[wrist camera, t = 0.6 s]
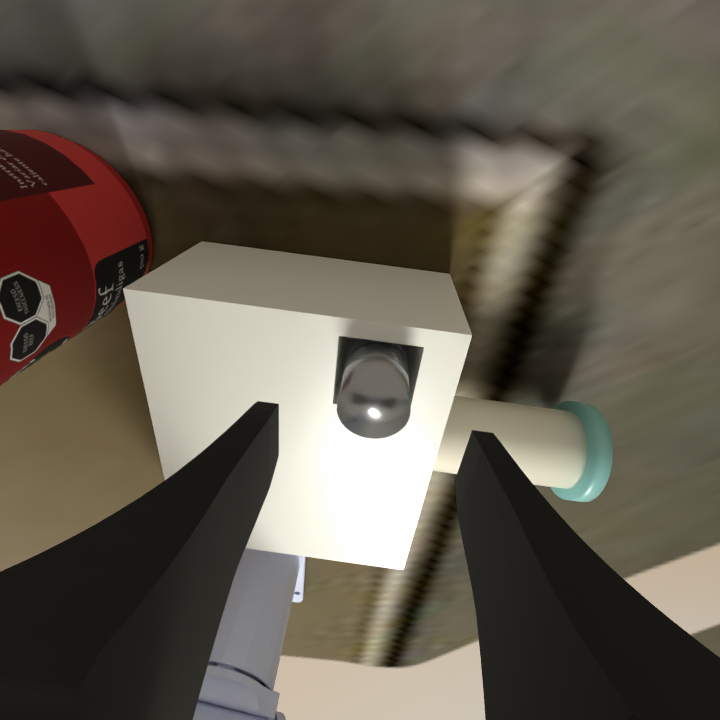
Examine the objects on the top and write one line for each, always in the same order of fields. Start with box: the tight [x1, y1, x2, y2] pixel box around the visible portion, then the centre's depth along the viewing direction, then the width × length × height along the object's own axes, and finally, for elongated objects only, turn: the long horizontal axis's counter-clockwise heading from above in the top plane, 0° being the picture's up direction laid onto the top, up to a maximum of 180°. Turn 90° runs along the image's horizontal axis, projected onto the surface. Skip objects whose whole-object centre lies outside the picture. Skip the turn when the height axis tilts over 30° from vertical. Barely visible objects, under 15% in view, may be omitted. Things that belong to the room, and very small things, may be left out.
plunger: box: [337, 338, 411, 439], centre depth 14 cm, size 2×2×4 cm
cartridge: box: [433, 396, 613, 502], centre depth 19 cm, size 5×17×5 cm, turn 84°
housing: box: [123, 241, 472, 570], centre depth 20 cm, size 14×12×6 cm
